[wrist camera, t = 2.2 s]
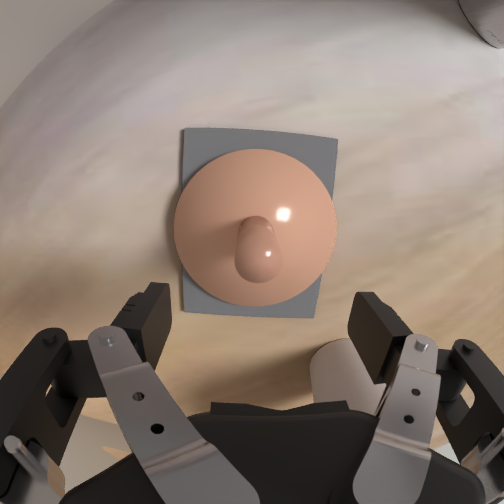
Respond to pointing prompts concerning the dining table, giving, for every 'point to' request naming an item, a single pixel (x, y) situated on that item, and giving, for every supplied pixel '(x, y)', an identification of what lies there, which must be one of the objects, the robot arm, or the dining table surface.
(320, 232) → the lid
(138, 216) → the dining table surface
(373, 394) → the coffee cup
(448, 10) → the dining table surface
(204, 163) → the mat
